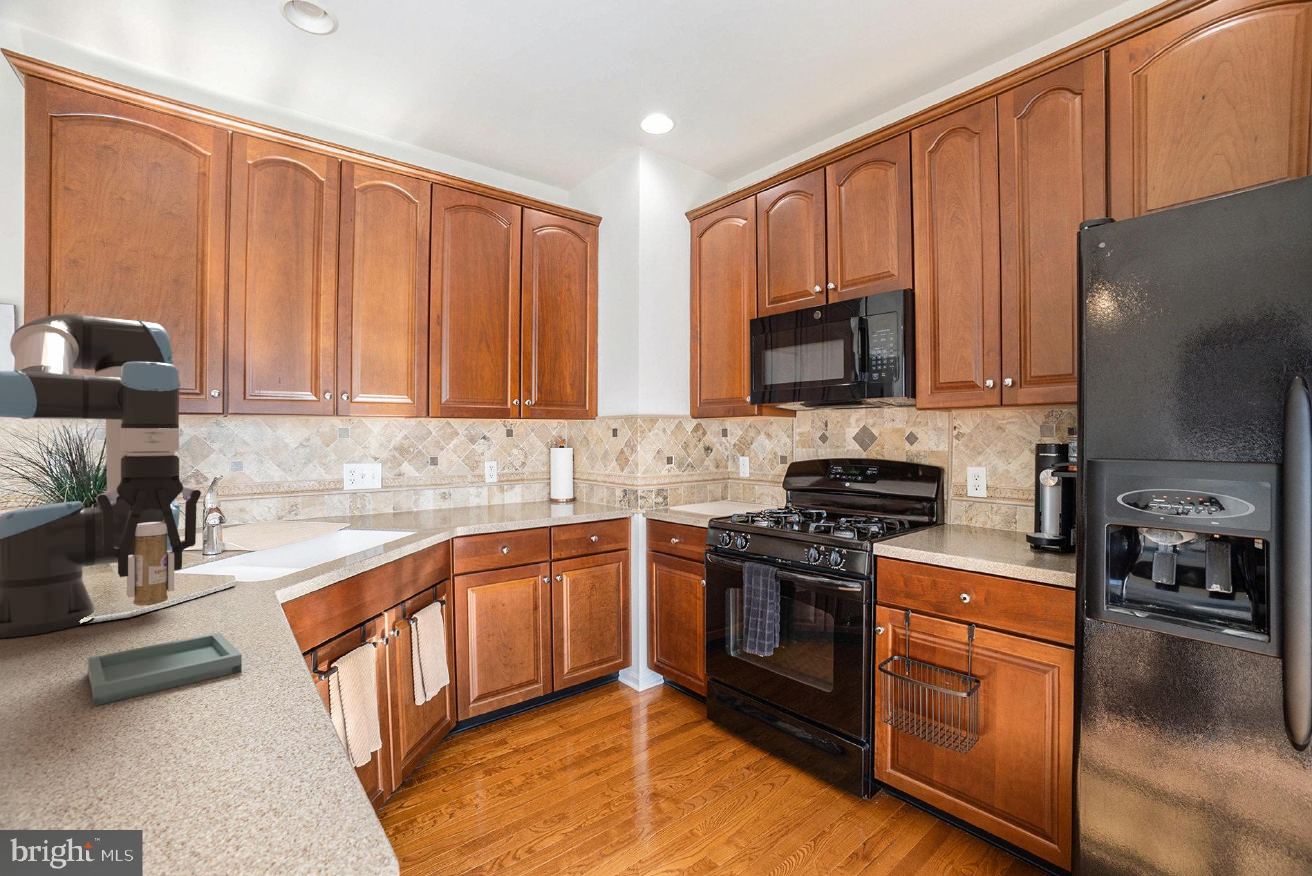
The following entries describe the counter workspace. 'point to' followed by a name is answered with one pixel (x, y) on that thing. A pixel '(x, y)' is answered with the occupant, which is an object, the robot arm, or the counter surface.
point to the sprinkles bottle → (150, 563)
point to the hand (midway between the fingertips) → (150, 592)
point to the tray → (161, 667)
